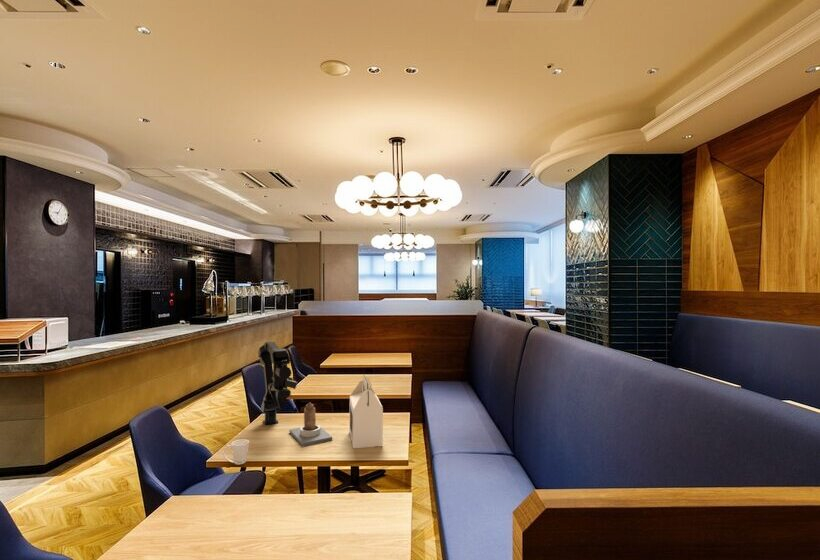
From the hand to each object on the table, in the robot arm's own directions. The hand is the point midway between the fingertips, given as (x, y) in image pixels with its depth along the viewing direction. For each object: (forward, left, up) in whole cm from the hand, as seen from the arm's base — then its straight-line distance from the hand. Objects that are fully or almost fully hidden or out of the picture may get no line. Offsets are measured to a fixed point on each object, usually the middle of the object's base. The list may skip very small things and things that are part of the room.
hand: (279, 407), depth 204 cm
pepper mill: (+14, +11, -10) cm, 20 cm away
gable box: (+30, +32, -12) cm, 46 cm away
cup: (+26, -24, -12) cm, 37 cm away
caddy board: (+14, +11, -12) cm, 21 cm away
